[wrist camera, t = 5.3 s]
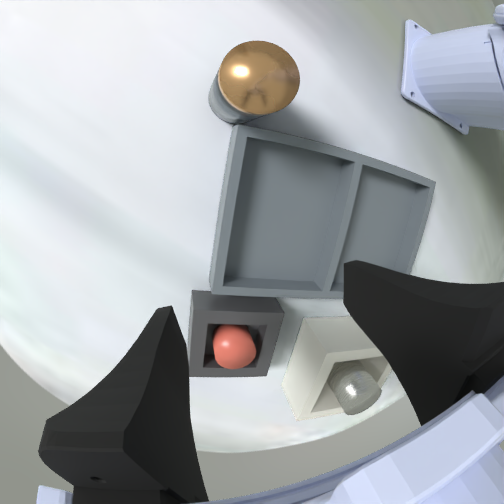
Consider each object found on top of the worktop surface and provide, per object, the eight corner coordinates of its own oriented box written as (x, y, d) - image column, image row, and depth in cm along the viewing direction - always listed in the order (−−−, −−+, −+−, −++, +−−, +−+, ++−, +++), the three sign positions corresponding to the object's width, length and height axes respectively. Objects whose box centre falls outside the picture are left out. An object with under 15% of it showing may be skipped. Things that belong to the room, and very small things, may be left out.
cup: (377, 315, 25) (405, 343, 20) (349, 376, 27) (369, 406, 23) (303, 317, 22) (327, 352, 18) (280, 385, 25) (296, 421, 21)
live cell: (267, 78, 15) (304, 52, 10) (258, 128, 16) (292, 121, 11) (214, 68, 14) (228, 33, 9) (204, 118, 16) (212, 105, 10)
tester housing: (273, 294, 21) (284, 312, 19) (258, 355, 23) (266, 376, 21) (191, 290, 19) (193, 309, 17) (186, 354, 21) (188, 376, 19)
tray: (419, 177, 20) (435, 182, 18) (387, 288, 24) (400, 298, 22) (232, 126, 16) (238, 124, 14) (209, 279, 19) (211, 294, 18)
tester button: (252, 321, 20) (259, 338, 18) (246, 351, 21) (252, 368, 19) (214, 320, 19) (217, 338, 17) (209, 350, 20) (213, 369, 18)
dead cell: (354, 340, 24) (388, 383, 19) (341, 367, 25) (370, 410, 20) (322, 342, 23) (354, 390, 18) (311, 370, 24) (338, 418, 19)
